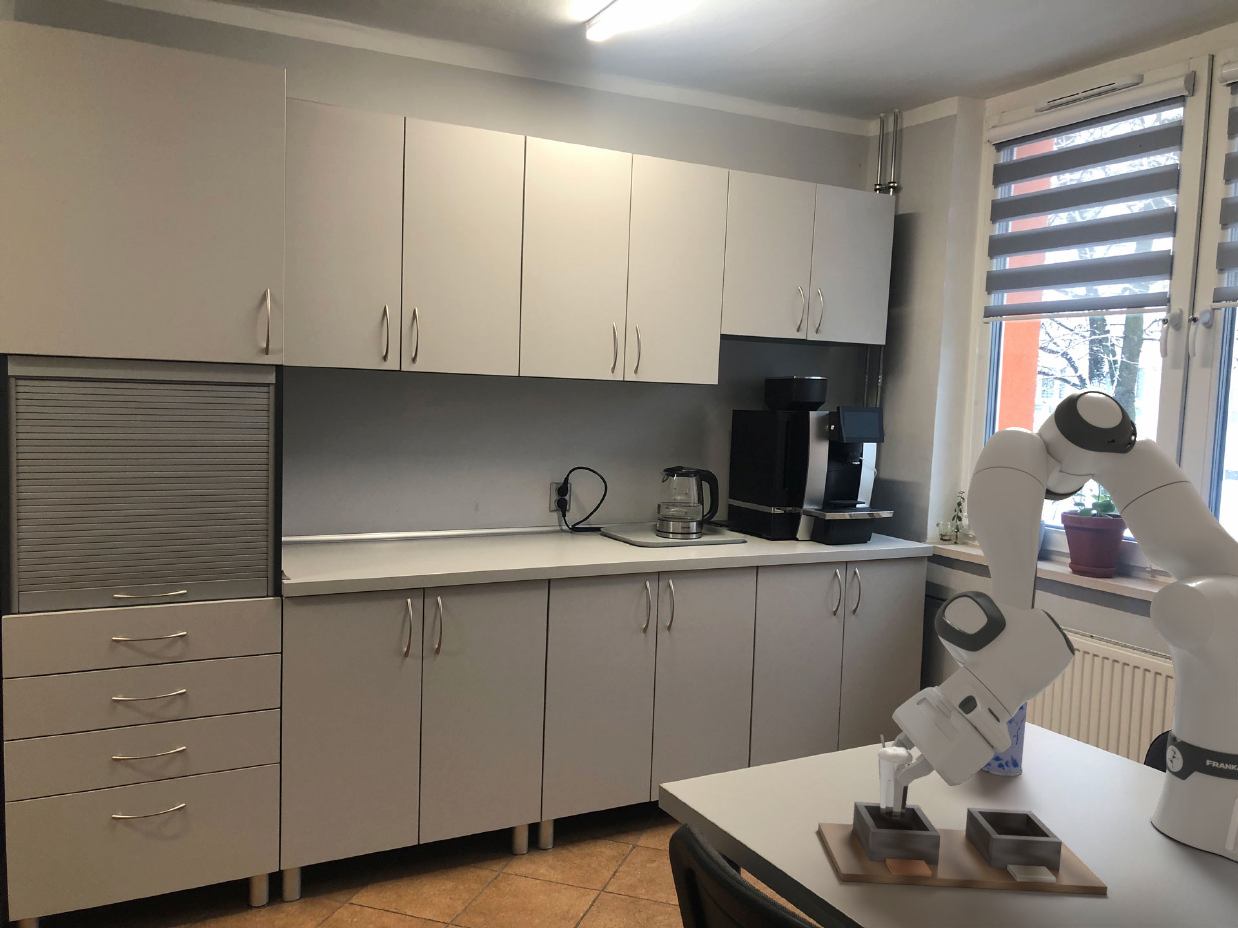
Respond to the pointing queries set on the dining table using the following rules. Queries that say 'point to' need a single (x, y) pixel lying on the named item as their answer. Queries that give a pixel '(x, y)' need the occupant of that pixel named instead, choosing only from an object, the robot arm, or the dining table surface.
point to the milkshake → (892, 780)
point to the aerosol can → (1010, 748)
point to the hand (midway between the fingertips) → (892, 771)
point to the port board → (956, 852)
